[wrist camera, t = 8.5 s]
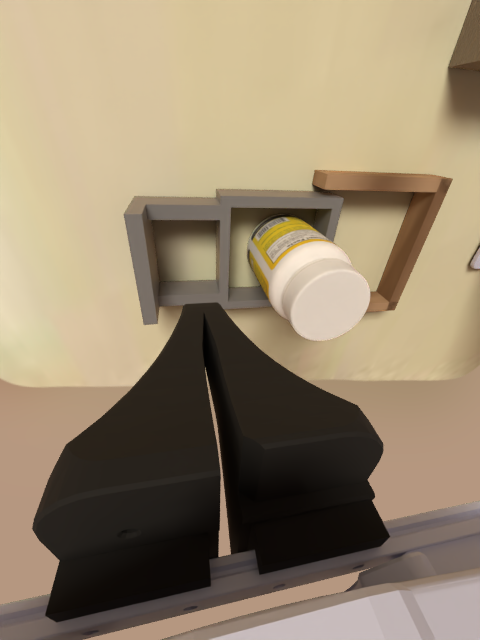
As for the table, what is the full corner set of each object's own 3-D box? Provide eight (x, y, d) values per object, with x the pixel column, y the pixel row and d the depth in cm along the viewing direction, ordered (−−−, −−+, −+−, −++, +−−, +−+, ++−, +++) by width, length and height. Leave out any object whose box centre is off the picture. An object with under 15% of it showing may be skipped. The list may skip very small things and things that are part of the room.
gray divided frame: (329, 191, 18) (362, 206, 15) (307, 291, 22) (329, 319, 19) (133, 186, 16) (121, 202, 13) (150, 298, 20) (145, 331, 17)
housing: (431, 174, 19) (452, 178, 17) (381, 299, 24) (394, 310, 23) (314, 170, 17) (327, 174, 16) (290, 304, 23) (297, 316, 21)
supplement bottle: (293, 282, 22) (346, 353, 15) (237, 270, 20) (267, 343, 13) (321, 221, 19) (398, 274, 12) (259, 202, 18) (309, 251, 11)
